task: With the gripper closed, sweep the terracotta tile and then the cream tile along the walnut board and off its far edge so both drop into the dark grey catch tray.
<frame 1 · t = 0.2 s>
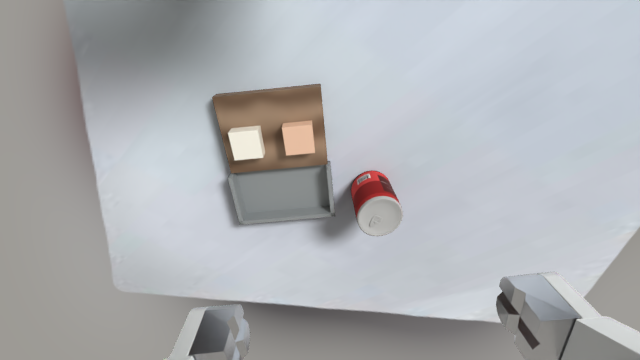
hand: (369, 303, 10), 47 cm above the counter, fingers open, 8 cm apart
canned food: (369, 186, 62), on the counter
tile terracotta: (299, 135, 54), point 2 cm above the counter, touching board
tray: (284, 189, 61), on the counter
tile cream: (248, 140, 54), point 2 cm above the counter, touching board
board: (274, 128, 56), on the counter
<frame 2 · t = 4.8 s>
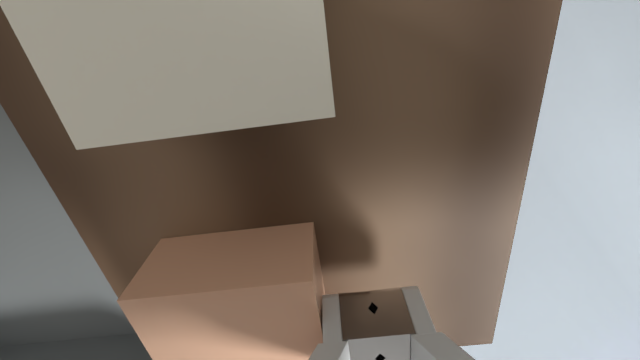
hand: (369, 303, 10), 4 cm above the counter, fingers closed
tile terracotta: (253, 286, 11), point 3 cm above the counter, touching gripper
board: (292, 137, 11), on the counter
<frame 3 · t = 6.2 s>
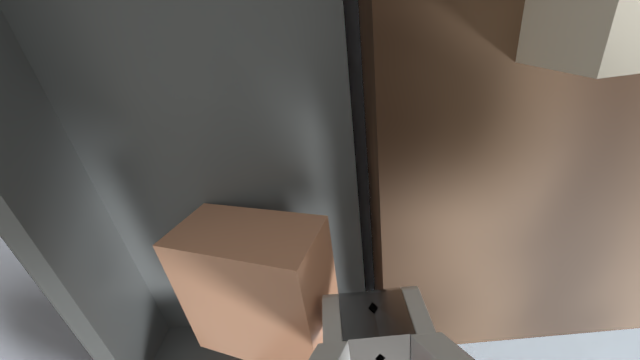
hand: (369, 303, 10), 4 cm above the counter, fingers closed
tile terracotta: (274, 262, 12), point 1 cm above the counter, tilted 21°, touching tray
tray: (209, 145, 11), on the counter
board: (566, 101, 11), on the counter
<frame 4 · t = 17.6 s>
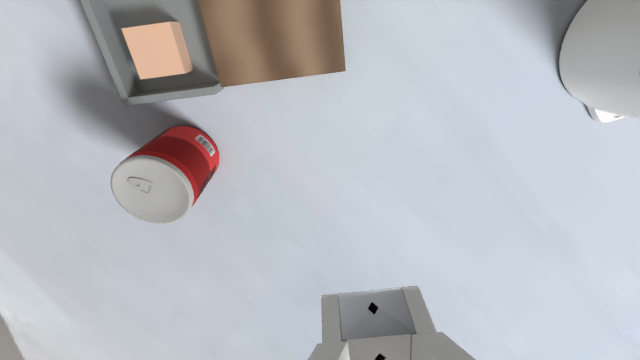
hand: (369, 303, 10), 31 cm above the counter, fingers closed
canned food: (191, 151, 41), on the counter
tile terracotta: (164, 49, 34), point 1 cm above the counter, touching tray
tray: (152, 3, 33), on the counter
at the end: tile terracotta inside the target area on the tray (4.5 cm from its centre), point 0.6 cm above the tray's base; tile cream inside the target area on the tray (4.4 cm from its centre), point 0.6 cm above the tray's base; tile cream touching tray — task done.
